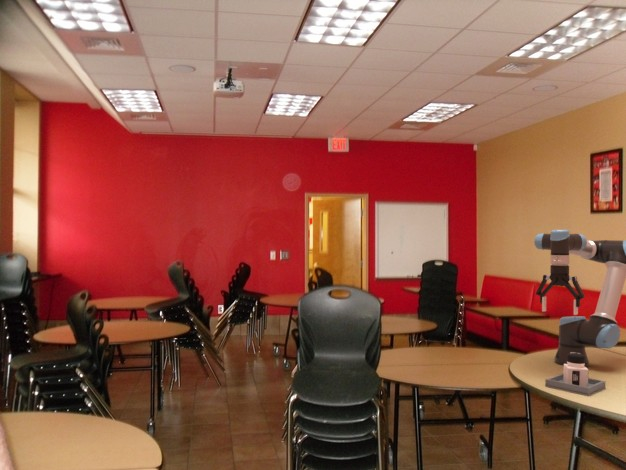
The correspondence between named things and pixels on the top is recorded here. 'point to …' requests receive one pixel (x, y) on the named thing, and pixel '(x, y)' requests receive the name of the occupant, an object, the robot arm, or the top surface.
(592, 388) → the tray
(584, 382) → the container
